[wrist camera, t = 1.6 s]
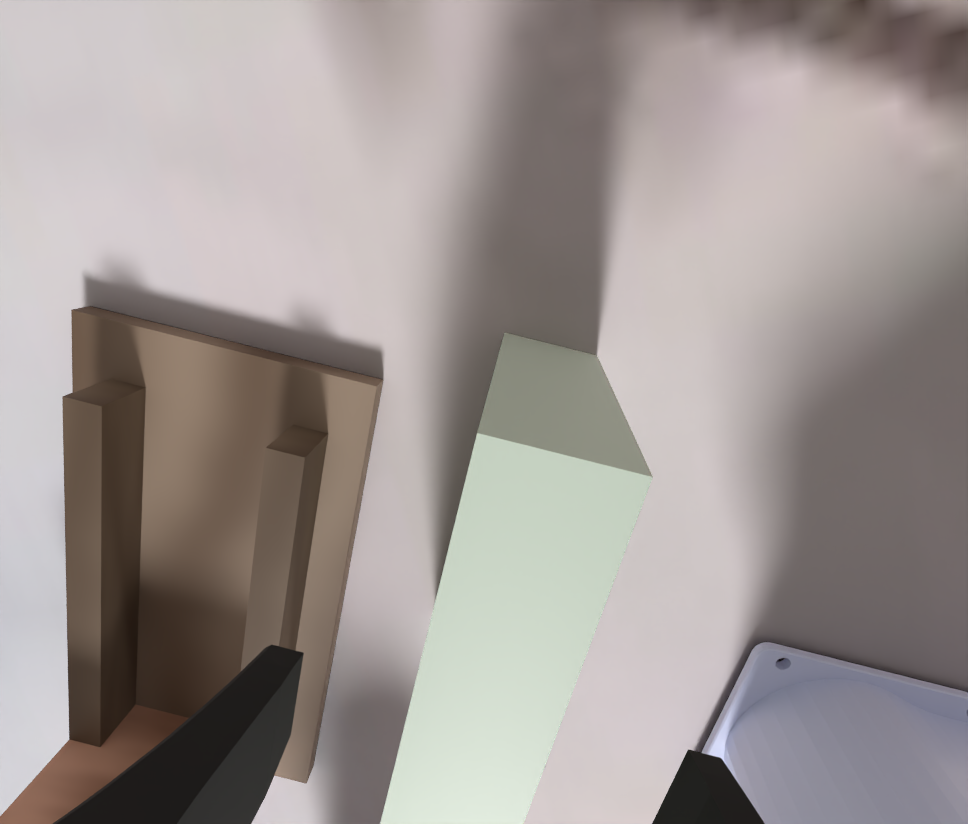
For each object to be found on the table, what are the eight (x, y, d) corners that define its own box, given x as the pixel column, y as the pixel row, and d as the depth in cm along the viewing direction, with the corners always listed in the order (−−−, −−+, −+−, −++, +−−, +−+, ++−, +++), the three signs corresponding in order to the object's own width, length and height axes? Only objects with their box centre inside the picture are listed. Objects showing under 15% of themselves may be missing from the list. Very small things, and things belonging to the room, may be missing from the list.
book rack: (383, 379, 19) (303, 463, 12) (313, 766, 25) (234, 958, 18) (90, 306, 19) (-143, 351, 12) (91, 709, 25) (-65, 882, 18)
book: (596, 355, 18) (652, 477, 9) (511, 629, 21) (496, 896, 13) (504, 332, 18) (476, 432, 9) (435, 609, 22) (369, 864, 13)
